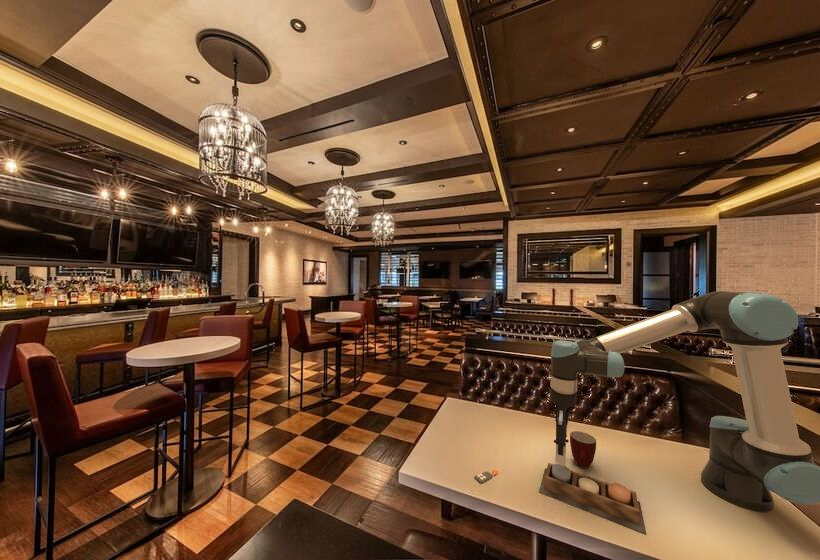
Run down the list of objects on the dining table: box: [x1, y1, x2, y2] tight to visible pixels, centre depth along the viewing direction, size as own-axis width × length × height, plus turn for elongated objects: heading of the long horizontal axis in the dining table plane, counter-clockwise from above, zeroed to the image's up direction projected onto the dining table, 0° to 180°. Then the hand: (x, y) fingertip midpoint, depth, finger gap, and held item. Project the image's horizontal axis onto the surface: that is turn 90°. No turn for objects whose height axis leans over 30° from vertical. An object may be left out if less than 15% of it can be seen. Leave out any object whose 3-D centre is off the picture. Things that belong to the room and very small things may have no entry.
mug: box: [569, 430, 597, 469], centre depth 101 cm, size 10×8×10 cm
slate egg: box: [552, 463, 571, 484], centre depth 91 cm, size 5×5×3 cm
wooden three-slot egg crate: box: [538, 462, 647, 536], centre depth 87 cm, size 26×13×4 cm, turn 57°
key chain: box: [474, 469, 503, 485], centre depth 96 cm, size 13×4×2 cm, turn 121°
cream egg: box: [579, 478, 599, 495], centre depth 87 cm, size 5×5×3 cm
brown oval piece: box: [608, 482, 630, 506], centre depth 83 cm, size 5×5×3 cm
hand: (560, 462), depth 91 cm, fingers closed
